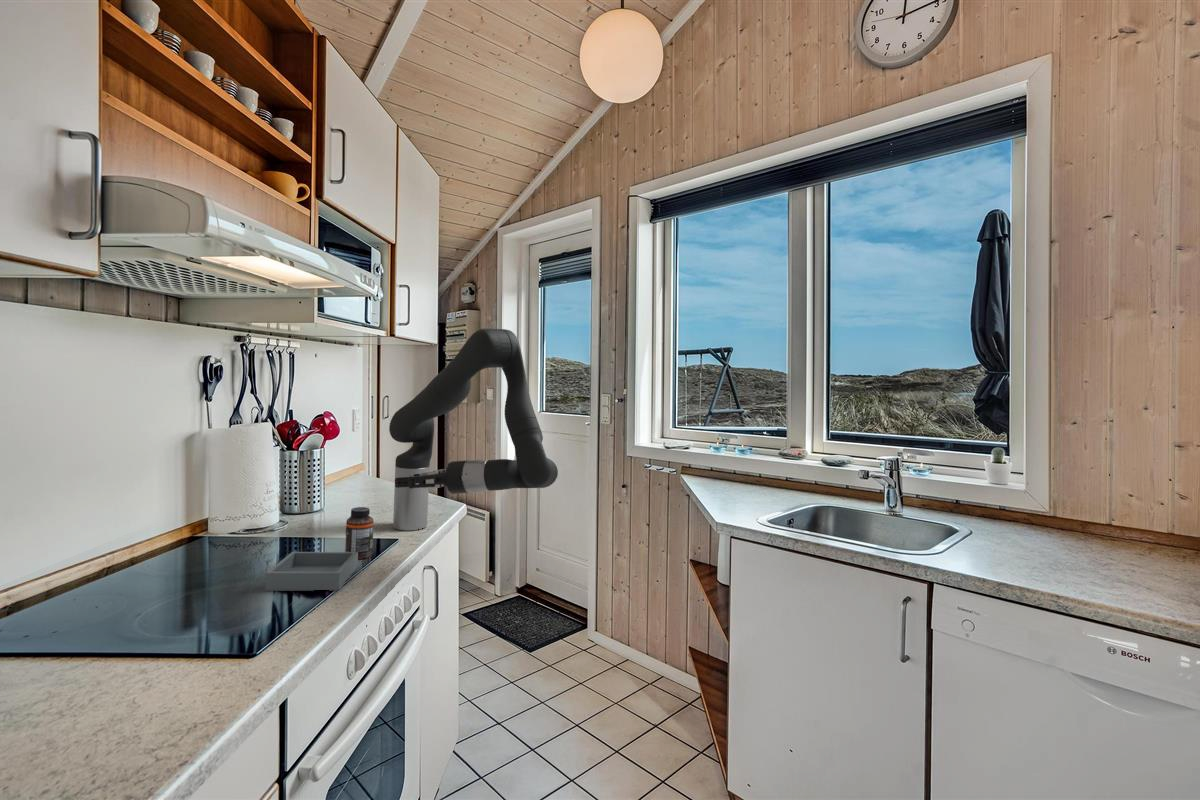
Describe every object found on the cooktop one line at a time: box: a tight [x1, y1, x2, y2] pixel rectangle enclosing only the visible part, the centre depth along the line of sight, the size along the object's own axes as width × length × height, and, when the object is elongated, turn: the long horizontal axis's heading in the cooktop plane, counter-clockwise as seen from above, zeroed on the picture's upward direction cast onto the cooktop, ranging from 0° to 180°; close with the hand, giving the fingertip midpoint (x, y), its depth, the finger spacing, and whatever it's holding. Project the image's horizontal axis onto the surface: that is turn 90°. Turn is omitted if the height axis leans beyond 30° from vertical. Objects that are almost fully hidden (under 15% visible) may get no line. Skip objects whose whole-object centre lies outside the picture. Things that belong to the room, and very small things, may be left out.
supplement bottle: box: [344, 506, 375, 560], centre depth 134 cm, size 6×6×11 cm
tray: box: [264, 551, 359, 592], centre depth 119 cm, size 14×14×4 cm
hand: (404, 480), depth 134 cm, fingers open, 8 cm apart
